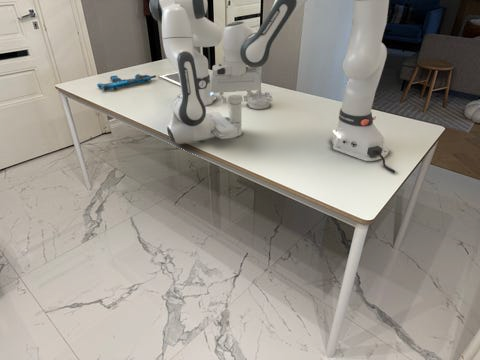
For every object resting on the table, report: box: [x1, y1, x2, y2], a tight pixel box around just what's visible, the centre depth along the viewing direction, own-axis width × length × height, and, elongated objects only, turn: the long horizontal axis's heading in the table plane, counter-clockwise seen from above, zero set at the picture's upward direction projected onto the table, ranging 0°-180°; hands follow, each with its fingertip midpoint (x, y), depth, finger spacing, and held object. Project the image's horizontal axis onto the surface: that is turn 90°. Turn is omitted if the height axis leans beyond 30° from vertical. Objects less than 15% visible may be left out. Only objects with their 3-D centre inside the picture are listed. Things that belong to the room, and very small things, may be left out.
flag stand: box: [247, 65, 273, 110], centre depth 168 cm, size 13×13×30 cm
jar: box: [228, 101, 242, 137], centre depth 143 cm, size 5×5×16 cm
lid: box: [227, 94, 243, 103], centre depth 139 cm, size 6×6×2 cm
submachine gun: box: [96, 73, 157, 91], centre depth 207 cm, size 34×4×25 cm
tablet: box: [158, 71, 181, 87], centre depth 214 cm, size 32×20×1 cm, turn 41°
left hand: (237, 121), depth 145 cm, fingers closed on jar, 5 cm apart
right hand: (235, 101), depth 140 cm, fingers open, 8 cm apart
